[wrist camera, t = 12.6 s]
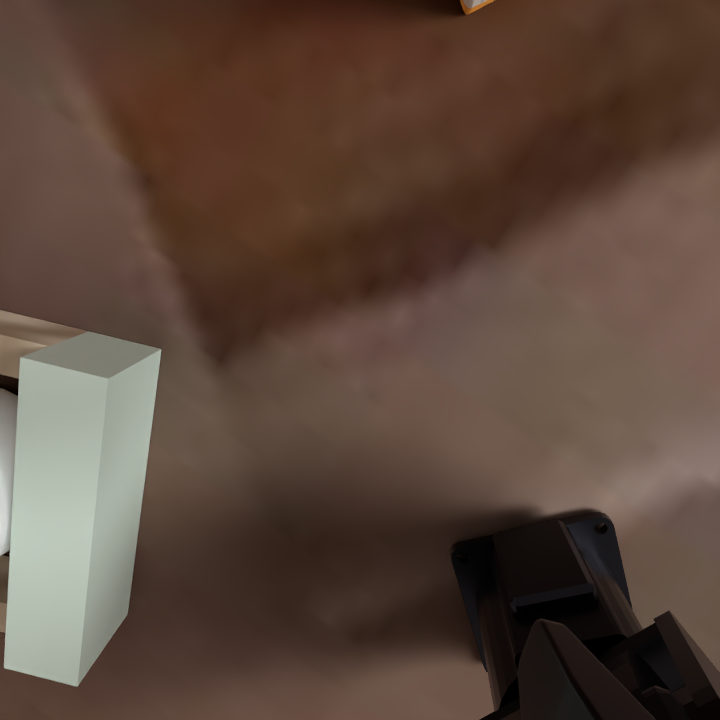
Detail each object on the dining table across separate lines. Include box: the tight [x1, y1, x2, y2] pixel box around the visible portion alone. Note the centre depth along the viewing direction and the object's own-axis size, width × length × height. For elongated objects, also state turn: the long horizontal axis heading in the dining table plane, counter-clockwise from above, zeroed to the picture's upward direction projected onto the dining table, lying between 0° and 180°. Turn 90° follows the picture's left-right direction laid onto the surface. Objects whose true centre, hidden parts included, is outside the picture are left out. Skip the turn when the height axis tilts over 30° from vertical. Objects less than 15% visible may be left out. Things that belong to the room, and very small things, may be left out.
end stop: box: [4, 332, 162, 687], centre depth 21 cm, size 3×13×4 cm, turn 167°
